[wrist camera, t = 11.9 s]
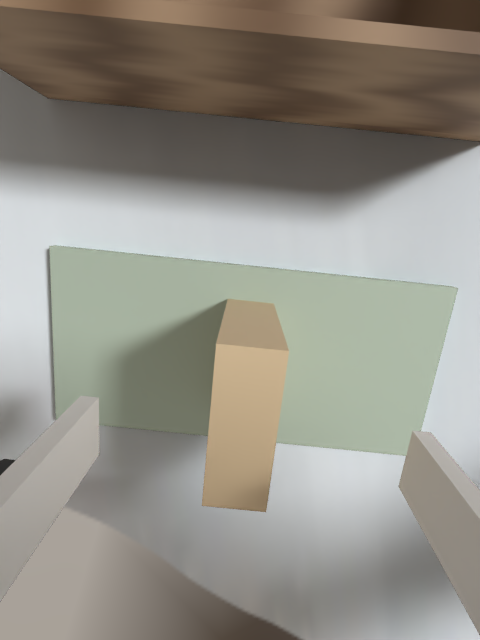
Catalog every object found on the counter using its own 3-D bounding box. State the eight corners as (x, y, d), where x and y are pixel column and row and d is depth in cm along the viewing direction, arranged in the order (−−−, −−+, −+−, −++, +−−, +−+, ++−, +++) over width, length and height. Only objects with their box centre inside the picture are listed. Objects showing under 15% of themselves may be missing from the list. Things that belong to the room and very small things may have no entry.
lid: (448, 285, 24) (586, 328, 14) (407, 446, 27) (496, 572, 18) (59, 244, 24) (-73, 260, 14) (64, 412, 27) (-41, 520, 17)
